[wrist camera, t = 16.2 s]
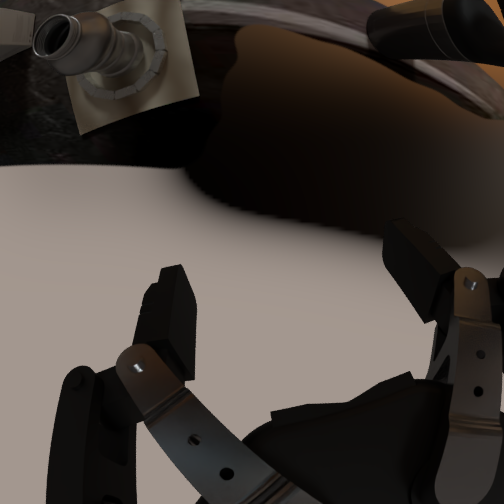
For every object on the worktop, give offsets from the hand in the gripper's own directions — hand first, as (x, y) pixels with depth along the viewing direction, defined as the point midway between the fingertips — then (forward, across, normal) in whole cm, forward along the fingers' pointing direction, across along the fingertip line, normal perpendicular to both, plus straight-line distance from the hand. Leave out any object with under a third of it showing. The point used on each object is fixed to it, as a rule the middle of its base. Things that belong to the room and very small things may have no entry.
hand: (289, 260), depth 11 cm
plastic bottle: (+31, +13, -15) cm, 37 cm away
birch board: (+32, +13, -15) cm, 37 cm away
